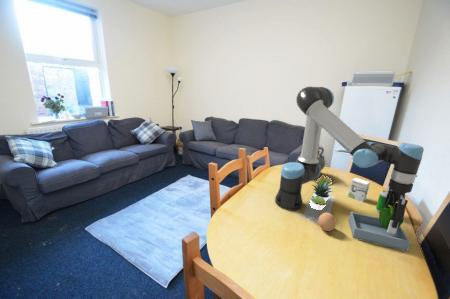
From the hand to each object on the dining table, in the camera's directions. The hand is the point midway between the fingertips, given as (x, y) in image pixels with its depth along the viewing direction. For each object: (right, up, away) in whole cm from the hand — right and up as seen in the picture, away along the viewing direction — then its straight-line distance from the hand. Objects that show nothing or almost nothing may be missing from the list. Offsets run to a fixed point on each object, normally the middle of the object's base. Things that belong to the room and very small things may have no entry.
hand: (387, 226), depth 93 cm
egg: (-25, -3, +5) cm, 26 cm away
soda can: (+14, 0, +20) cm, 25 cm away
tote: (-4, -5, +3) cm, 7 cm away
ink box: (+8, +4, +35) cm, 36 cm away
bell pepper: (0, -1, 0) cm, 1 cm away
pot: (-8, +15, +69) cm, 71 cm away
